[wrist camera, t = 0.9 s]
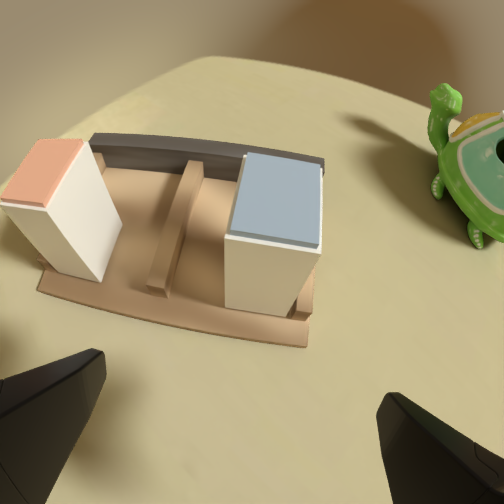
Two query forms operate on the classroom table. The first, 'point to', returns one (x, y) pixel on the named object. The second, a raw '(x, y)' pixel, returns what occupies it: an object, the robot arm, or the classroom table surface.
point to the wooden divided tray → (176, 239)
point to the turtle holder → (469, 163)
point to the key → (64, 207)
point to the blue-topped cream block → (272, 233)
